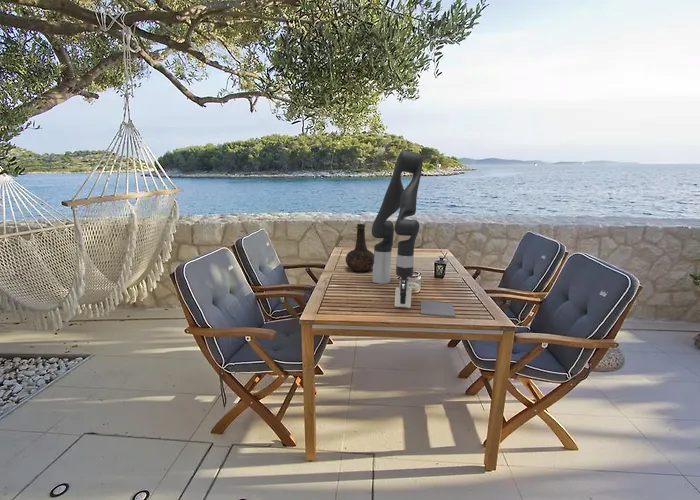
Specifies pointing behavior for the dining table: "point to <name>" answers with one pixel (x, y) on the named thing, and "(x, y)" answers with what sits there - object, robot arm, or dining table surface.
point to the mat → (437, 309)
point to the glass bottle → (360, 253)
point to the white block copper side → (407, 300)
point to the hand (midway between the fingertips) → (402, 302)
